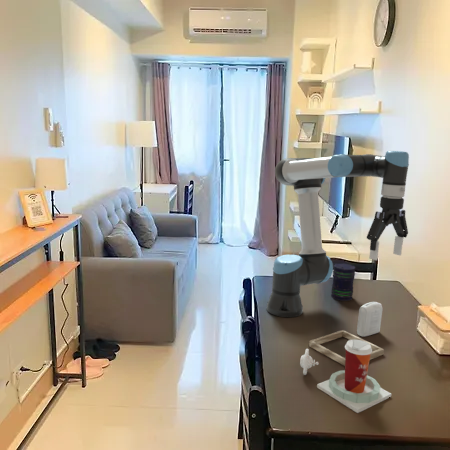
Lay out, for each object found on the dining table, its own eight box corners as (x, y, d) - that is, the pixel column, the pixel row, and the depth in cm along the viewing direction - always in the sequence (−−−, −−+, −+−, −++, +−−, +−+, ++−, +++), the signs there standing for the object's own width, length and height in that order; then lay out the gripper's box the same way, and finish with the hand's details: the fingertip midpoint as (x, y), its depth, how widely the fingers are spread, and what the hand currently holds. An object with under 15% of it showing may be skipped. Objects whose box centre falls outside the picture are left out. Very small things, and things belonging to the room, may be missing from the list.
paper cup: (363, 398, 130) (368, 353, 127) (337, 390, 134) (341, 345, 131) (370, 386, 137) (375, 343, 134) (345, 378, 141) (349, 336, 138)
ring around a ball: (300, 366, 149) (302, 343, 147) (318, 369, 148) (320, 346, 146) (298, 378, 141) (300, 354, 140) (316, 381, 140) (319, 357, 139)
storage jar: (335, 291, 221) (338, 261, 218) (355, 296, 215) (358, 266, 212) (327, 297, 213) (330, 266, 210) (347, 302, 208) (350, 270, 204)
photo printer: (372, 328, 181) (375, 298, 178) (381, 332, 177) (385, 302, 175) (354, 333, 175) (357, 303, 173) (363, 338, 172) (367, 307, 169)
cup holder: (316, 387, 137) (317, 378, 136) (350, 373, 146) (350, 365, 145) (357, 413, 125) (358, 403, 125) (391, 396, 134) (392, 387, 133)
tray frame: (308, 346, 163) (309, 340, 163) (342, 334, 174) (343, 329, 173) (349, 368, 149) (349, 362, 149) (383, 354, 159) (383, 349, 159)
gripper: (379, 200, 147) (371, 264, 151) (423, 196, 161) (415, 255, 165) (359, 197, 153) (353, 258, 157) (404, 193, 167) (397, 250, 171)
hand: (385, 256), depth 161 cm, fingers open, 13 cm apart
